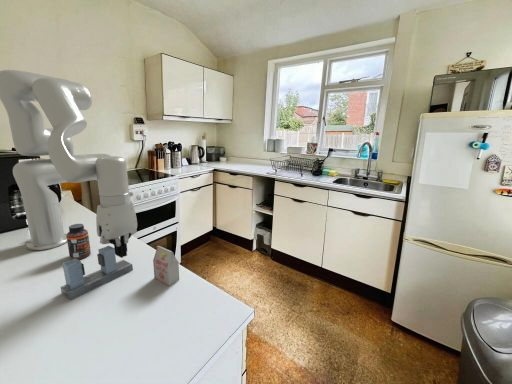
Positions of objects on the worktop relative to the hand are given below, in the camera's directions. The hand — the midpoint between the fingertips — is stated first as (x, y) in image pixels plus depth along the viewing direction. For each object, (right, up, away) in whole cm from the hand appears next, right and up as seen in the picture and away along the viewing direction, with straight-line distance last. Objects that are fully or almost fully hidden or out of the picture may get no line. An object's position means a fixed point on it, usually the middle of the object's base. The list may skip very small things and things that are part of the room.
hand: (121, 255), depth 74 cm
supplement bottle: (-19, -3, +8) cm, 21 cm away
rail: (-4, -6, -5) cm, 9 cm away
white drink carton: (+15, -7, -2) cm, 17 cm away
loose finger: (-2, -4, -3) cm, 5 cm away
